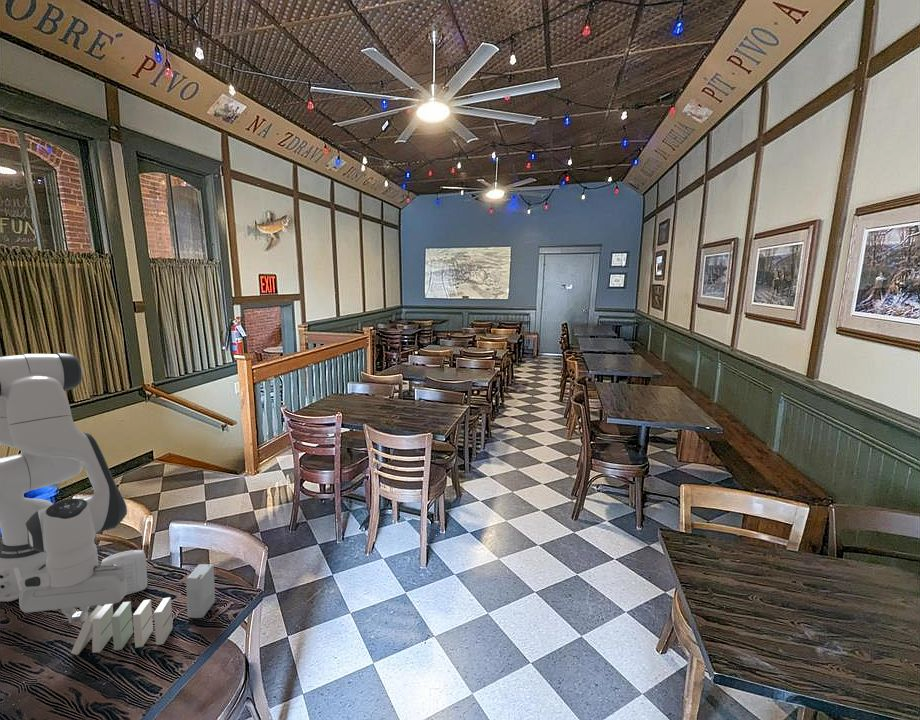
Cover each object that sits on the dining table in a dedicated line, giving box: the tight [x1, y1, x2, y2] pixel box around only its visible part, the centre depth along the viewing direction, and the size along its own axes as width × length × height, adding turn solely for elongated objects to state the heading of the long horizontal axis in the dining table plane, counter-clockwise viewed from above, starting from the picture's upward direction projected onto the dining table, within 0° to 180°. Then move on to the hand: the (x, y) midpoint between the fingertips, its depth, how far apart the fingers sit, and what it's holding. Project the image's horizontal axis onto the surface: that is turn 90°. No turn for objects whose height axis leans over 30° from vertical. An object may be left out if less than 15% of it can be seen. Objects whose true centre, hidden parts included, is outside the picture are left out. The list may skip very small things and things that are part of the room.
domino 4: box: [153, 596, 174, 646], centre depth 103 cm, size 2×5×9 cm, turn 13°
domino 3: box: [132, 599, 154, 649], centre depth 102 cm, size 2×5×9 cm, turn 13°
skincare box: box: [185, 563, 216, 619], centre depth 111 cm, size 6×4×12 cm
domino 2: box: [91, 604, 114, 654], centre depth 100 cm, size 2×5×9 cm, turn 13°
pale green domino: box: [111, 600, 134, 651], centre depth 101 cm, size 2×5×9 cm, turn 13°
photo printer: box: [100, 549, 148, 596], centre depth 117 cm, size 10×4×12 cm, turn 123°
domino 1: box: [70, 605, 104, 656], centre depth 99 cm, size 2×5×9 cm, turn 12°
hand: (78, 620), depth 98 cm, fingers closed
